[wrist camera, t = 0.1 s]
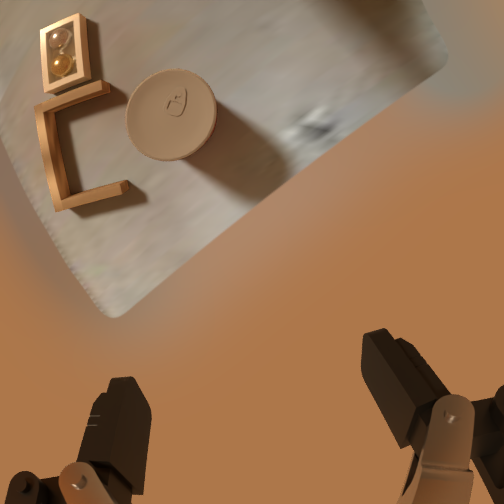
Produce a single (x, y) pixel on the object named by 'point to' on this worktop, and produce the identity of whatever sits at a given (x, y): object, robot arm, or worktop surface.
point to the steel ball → (60, 38)
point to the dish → (75, 49)
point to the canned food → (171, 115)
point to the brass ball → (62, 65)
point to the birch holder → (53, 151)
